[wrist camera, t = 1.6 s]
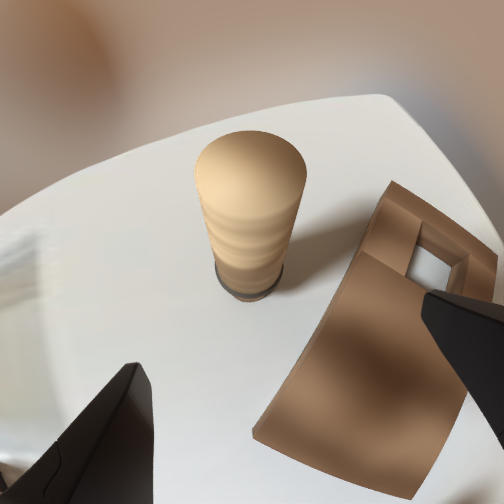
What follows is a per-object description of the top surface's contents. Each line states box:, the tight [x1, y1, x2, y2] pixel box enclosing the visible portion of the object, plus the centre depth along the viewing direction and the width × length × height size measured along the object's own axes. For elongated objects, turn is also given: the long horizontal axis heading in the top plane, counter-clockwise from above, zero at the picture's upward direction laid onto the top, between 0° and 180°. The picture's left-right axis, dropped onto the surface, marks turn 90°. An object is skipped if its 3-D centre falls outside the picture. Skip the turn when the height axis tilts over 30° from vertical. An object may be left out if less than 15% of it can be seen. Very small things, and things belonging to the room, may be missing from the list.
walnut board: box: [252, 181, 498, 500], centre depth 18 cm, size 22×13×3 cm, turn 148°
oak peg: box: [194, 131, 307, 302], centre depth 16 cm, size 4×4×12 cm
